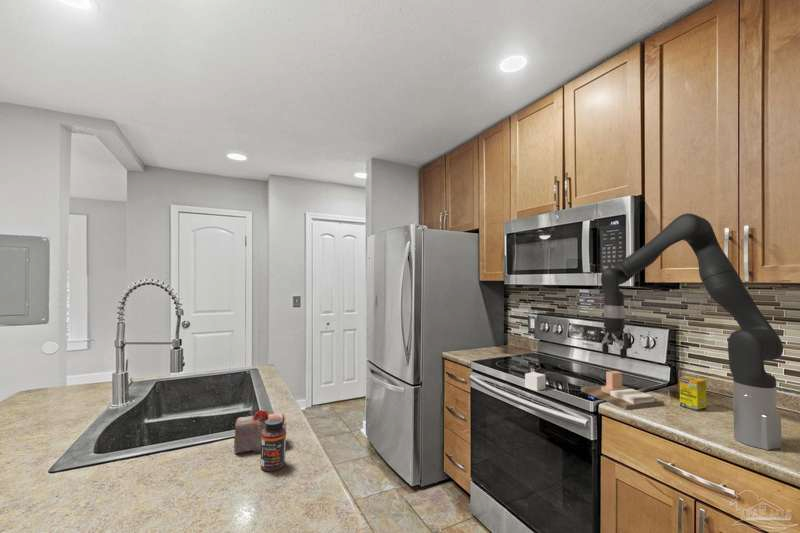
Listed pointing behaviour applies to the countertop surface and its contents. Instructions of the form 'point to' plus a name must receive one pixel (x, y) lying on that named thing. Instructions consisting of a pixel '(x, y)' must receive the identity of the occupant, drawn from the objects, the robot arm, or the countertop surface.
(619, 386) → the stub
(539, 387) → the white cube
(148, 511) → the countertop surface
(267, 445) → the supplement bottle
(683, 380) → the supplement box
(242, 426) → the pink box with bow
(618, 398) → the board
